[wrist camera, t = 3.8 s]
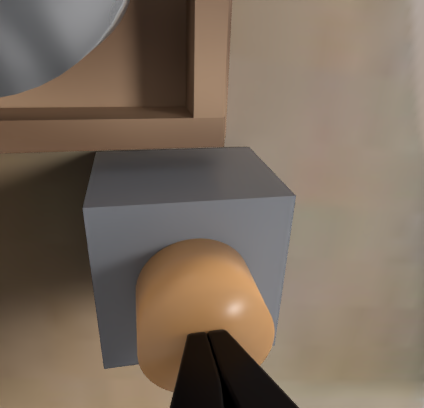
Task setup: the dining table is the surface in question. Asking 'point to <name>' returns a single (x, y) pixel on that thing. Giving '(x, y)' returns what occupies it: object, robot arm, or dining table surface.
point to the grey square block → (179, 225)
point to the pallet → (134, 86)
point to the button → (196, 305)
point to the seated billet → (50, 37)
